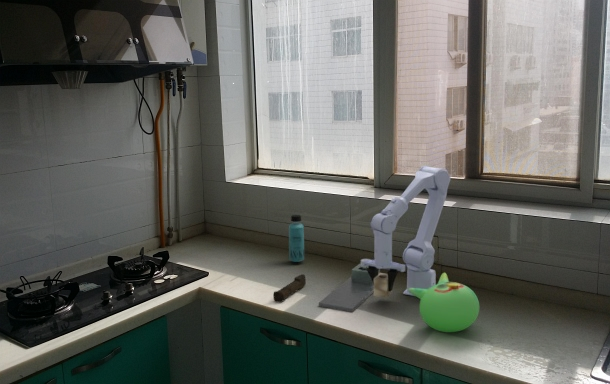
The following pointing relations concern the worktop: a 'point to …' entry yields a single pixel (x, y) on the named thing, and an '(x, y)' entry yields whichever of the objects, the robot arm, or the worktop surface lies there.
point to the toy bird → (447, 305)
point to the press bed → (350, 291)
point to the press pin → (365, 266)
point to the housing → (381, 285)
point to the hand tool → (290, 288)
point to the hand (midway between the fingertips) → (383, 289)
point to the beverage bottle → (296, 240)
